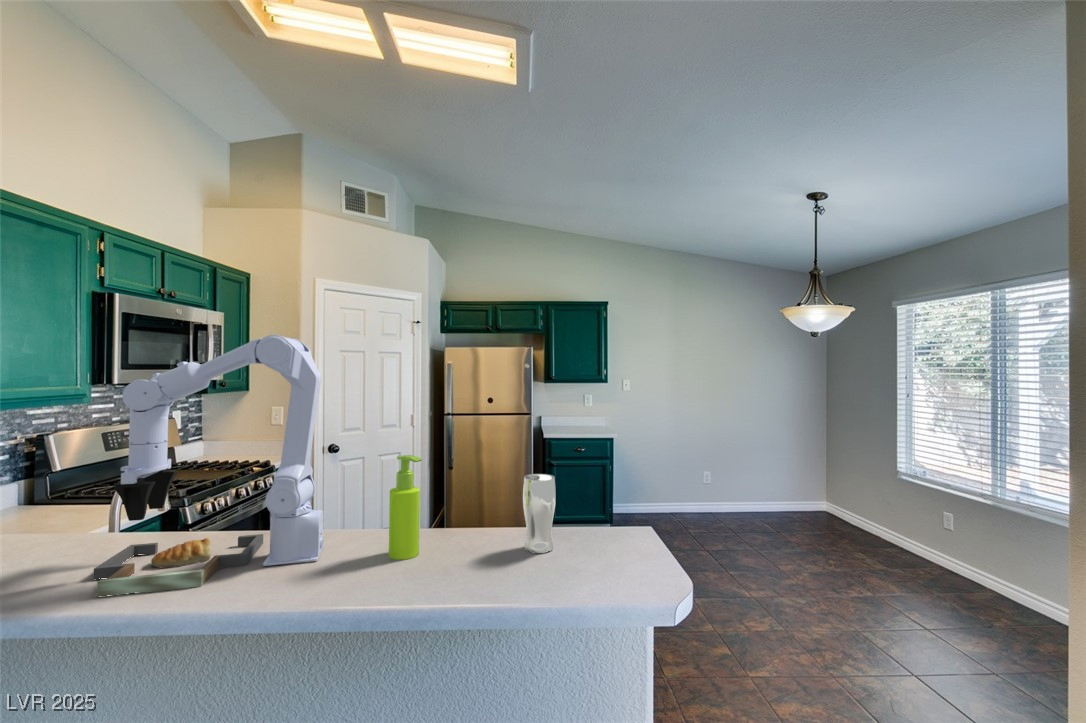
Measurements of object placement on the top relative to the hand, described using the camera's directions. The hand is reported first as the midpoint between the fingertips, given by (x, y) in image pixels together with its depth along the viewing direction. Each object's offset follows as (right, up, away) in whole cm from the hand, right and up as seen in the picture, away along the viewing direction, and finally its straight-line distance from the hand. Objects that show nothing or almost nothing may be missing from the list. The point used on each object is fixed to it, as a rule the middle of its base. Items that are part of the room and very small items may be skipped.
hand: (146, 513), depth 90 cm
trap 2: (+15, -10, +5) cm, 19 cm away
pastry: (+6, -10, +2) cm, 12 cm away
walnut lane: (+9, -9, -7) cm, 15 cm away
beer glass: (+75, -11, +9) cm, 76 cm away
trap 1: (-3, -10, -1) cm, 10 cm away
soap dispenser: (+48, -10, +5) cm, 49 cm away
